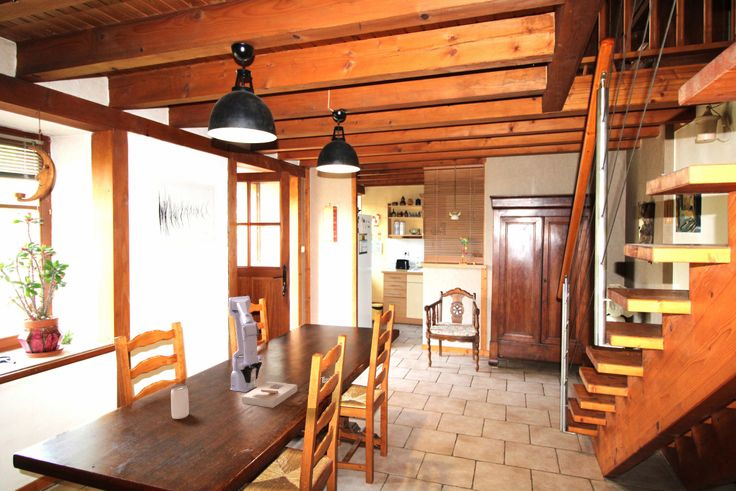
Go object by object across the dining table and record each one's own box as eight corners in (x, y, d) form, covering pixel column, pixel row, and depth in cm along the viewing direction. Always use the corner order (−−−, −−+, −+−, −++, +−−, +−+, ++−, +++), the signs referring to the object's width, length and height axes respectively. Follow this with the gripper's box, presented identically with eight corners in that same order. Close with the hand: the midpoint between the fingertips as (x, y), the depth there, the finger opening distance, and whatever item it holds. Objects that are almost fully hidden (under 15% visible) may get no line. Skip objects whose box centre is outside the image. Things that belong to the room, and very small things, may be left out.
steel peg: (243, 387, 190) (243, 369, 190) (249, 384, 194) (249, 366, 194) (252, 388, 188) (252, 370, 188) (258, 385, 192) (258, 367, 192)
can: (172, 420, 173) (171, 391, 173) (171, 414, 179) (170, 386, 178) (189, 417, 176) (188, 388, 176) (188, 411, 182) (187, 383, 181)
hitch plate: (241, 403, 189) (241, 396, 189) (268, 387, 208) (268, 381, 208) (273, 407, 184) (272, 400, 184) (297, 391, 202) (297, 384, 202)
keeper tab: (260, 391, 187) (261, 389, 188) (270, 392, 194) (270, 390, 194) (268, 392, 186) (269, 390, 186) (277, 393, 193) (278, 391, 193)
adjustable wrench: (317, 399, 194) (317, 395, 194) (304, 398, 195) (303, 394, 195) (335, 379, 218) (334, 376, 218) (322, 378, 220) (322, 375, 220)
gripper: (247, 355, 182) (248, 387, 183) (267, 346, 196) (268, 376, 196) (234, 354, 185) (235, 385, 186) (254, 345, 199) (255, 374, 199)
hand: (251, 380), depth 191 cm, fingers closed on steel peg, 4 cm apart
